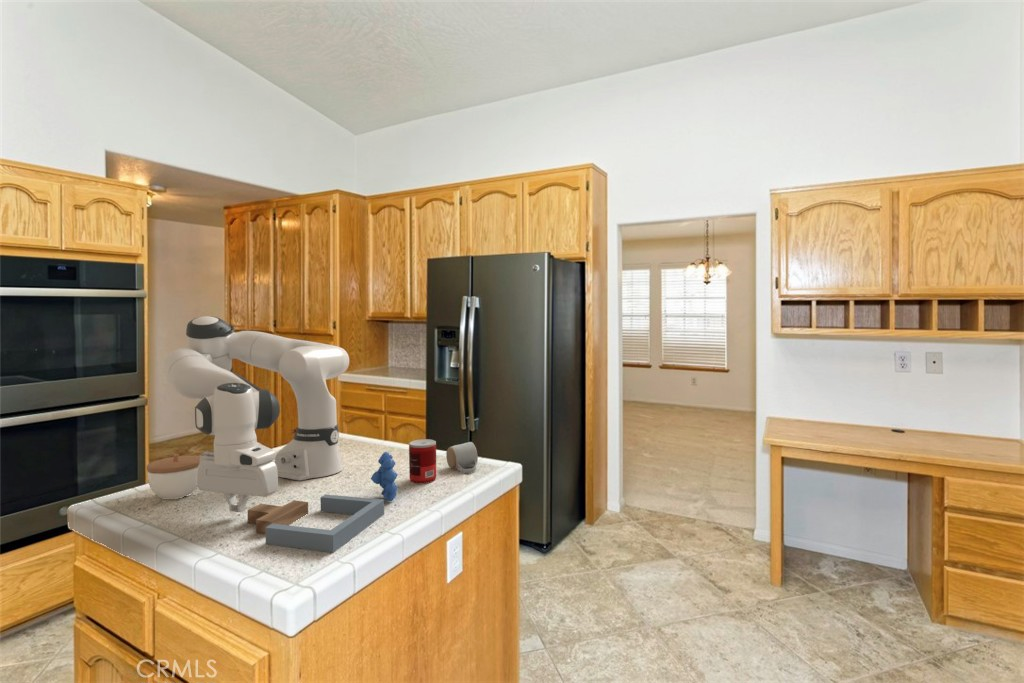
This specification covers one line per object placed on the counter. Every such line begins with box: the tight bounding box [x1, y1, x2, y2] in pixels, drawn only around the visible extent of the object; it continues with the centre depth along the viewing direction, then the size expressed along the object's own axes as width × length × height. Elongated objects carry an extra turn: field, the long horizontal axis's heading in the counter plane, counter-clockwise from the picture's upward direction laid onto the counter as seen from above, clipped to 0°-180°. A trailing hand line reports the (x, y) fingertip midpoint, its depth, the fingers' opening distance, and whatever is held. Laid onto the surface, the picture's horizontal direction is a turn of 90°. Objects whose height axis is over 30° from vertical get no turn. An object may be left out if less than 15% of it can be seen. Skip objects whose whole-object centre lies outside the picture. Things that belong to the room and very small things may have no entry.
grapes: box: [370, 451, 399, 502], centre depth 126 cm, size 12×7×12 cm, turn 27°
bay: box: [265, 494, 385, 554], centre depth 108 cm, size 16×20×4 cm
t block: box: [247, 499, 309, 535], centre depth 112 cm, size 10×12×3 cm
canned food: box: [408, 438, 437, 485], centre depth 141 cm, size 8×8×11 cm
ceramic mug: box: [445, 441, 479, 474], centre depth 151 cm, size 11×8×8 cm
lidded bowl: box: [146, 453, 201, 500], centre depth 130 cm, size 13×13×11 cm
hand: (237, 511), depth 114 cm, fingers closed
